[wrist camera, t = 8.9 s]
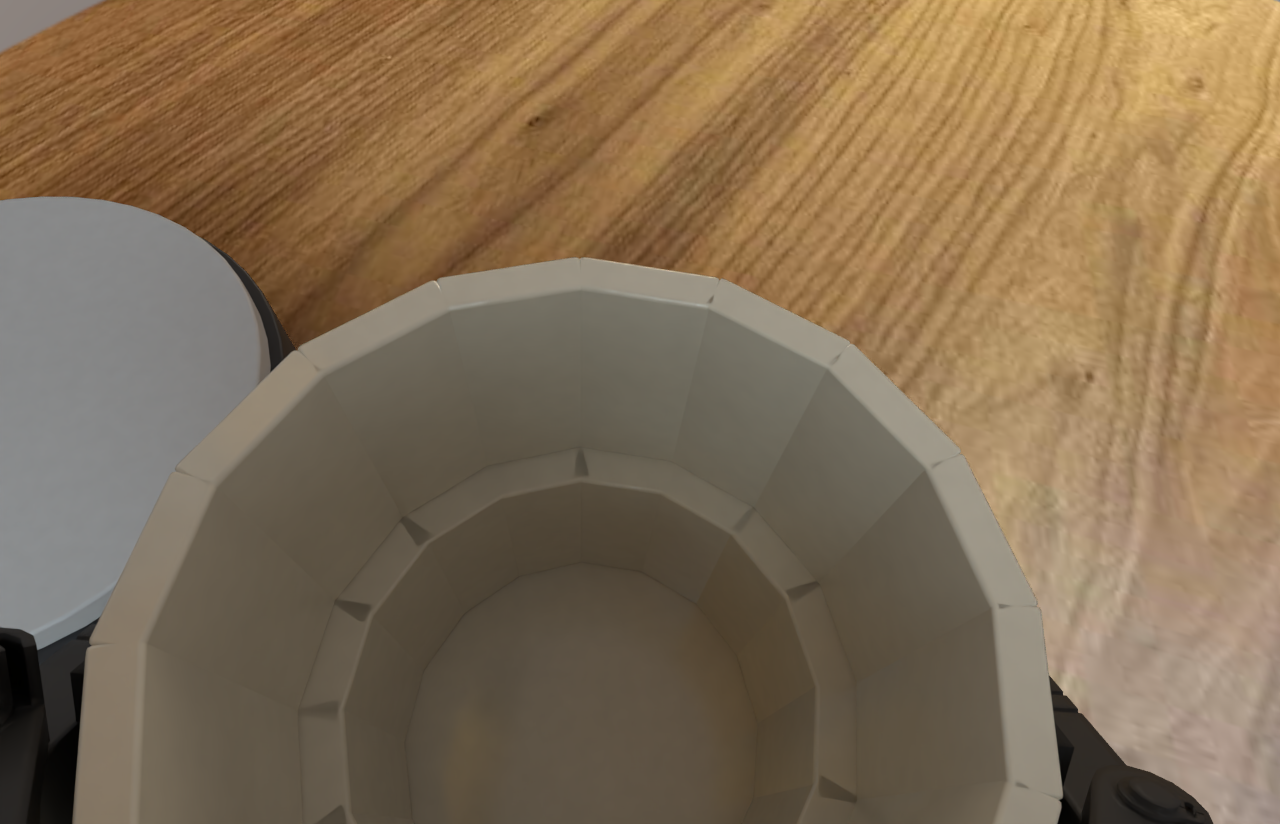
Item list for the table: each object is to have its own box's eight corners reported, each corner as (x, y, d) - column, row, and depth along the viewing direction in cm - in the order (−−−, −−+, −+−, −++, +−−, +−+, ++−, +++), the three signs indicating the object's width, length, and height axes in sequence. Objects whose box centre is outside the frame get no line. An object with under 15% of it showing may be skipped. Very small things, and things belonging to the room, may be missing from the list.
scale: (-298, 793, 16) (-506, 783, 13) (-160, 311, 22) (-281, 225, 19) (333, 645, 19) (283, 607, 16) (306, 244, 25) (265, 158, 21)
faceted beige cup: (379, 1090, 15) (8, 1558, 5) (340, 577, 20) (109, 326, 10) (870, 924, 17) (1265, 1043, 7) (726, 493, 21) (844, 213, 12)
